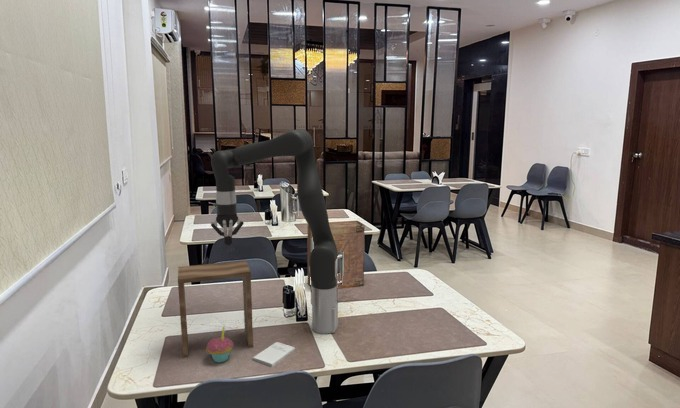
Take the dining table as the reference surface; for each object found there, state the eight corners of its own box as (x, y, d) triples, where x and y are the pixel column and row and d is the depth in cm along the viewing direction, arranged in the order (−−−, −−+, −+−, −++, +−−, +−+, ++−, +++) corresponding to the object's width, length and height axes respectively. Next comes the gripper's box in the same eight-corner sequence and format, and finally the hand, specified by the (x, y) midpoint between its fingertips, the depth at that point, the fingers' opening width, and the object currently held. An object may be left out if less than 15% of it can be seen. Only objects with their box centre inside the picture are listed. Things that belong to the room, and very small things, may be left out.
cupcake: (238, 354, 148) (237, 321, 146) (224, 367, 140) (222, 332, 138) (216, 350, 150) (214, 317, 148) (201, 363, 142) (199, 328, 140)
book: (312, 292, 203) (311, 228, 197) (307, 285, 211) (306, 224, 206) (363, 285, 210) (364, 224, 205) (357, 279, 219) (357, 220, 214)
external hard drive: (252, 361, 144) (276, 345, 155) (272, 368, 140) (295, 351, 151) (252, 357, 144) (276, 341, 155) (272, 364, 140) (295, 347, 151)
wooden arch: (183, 340, 157) (178, 266, 152) (248, 331, 164) (245, 260, 159) (183, 358, 145) (177, 279, 140) (253, 347, 152) (250, 271, 147)
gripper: (209, 204, 165) (211, 249, 168) (244, 202, 169) (246, 246, 172) (208, 201, 172) (210, 244, 175) (242, 199, 176) (244, 241, 179)
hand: (228, 245), depth 174 cm, fingers closed
